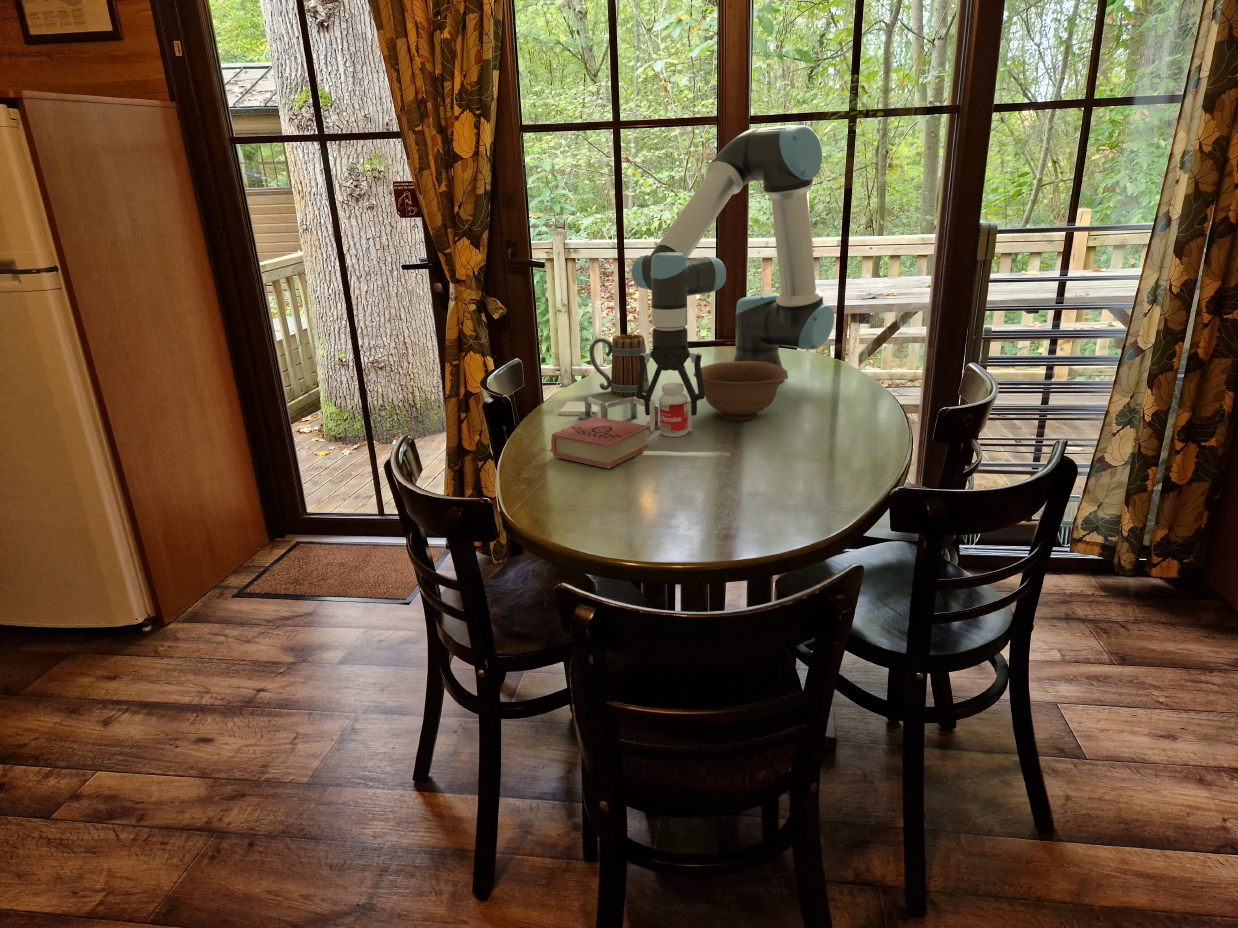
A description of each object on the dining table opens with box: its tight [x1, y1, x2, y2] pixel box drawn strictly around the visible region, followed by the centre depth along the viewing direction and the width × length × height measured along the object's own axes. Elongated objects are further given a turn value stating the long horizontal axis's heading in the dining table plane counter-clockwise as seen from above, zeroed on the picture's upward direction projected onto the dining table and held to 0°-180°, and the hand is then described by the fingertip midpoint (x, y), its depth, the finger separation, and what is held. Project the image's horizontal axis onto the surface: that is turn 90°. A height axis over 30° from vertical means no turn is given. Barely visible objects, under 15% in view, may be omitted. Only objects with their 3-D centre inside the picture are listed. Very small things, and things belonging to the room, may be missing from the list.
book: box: [550, 416, 650, 469], centre depth 165 cm, size 14×15×5 cm
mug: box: [589, 333, 650, 398], centre depth 209 cm, size 16×11×15 cm
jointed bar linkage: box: [578, 395, 660, 430], centre depth 184 cm, size 21×11×5 cm, turn 81°
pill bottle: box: [658, 382, 689, 438], centre depth 173 cm, size 6×6×11 cm
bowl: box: [693, 361, 789, 422], centre depth 185 cm, size 22×22×11 cm
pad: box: [559, 401, 601, 416], centre depth 196 cm, size 9×9×1 cm
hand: (671, 429), depth 176 cm, fingers open, 8 cm apart
